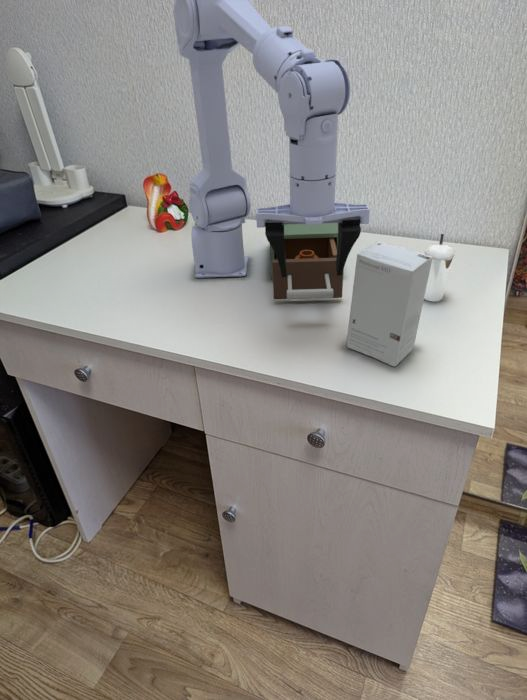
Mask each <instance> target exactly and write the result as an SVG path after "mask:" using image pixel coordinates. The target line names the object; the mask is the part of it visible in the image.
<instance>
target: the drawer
mask: <svg viewBox="0 0 527 700" xmlns="http://www.w3.org/2000/svg"><path fill="white" fill-rule="evenodd" d="M284 246H285V256H286V270H287V277H282V275H281V270H280V266H279V262H278V260H272V268H273V280H272V288H273V289H272V291H273V292H272V293H273V300H274V301H276V300H310V299H312V300H313V299H342V298H343V285H344V284H343V283H344V273H343V274H342V275H341V276H337V272H336V258H337V249H336V245H335V240H334V237H329V238H300V239H284ZM302 250H312V251H314V254H315V255H317V256H318V257H319V258H310V259H295V257H296V256H297V255H300V252H301V251H302ZM343 271H344V269H343Z"/></svg>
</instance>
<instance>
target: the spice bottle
mask: <svg viewBox="0 0 527 700" xmlns="http://www.w3.org/2000/svg"><path fill="white" fill-rule="evenodd" d="M310 258H319V257H318V256H317V255H315V254H314V251H312V250H302V251H301V252H300V255H297V256H296V257H295V259H310Z"/></svg>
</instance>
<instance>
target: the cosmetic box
mask: <svg viewBox="0 0 527 700" xmlns="http://www.w3.org/2000/svg"><path fill="white" fill-rule="evenodd" d="M431 263H432V257H431V256H428V255H425V253H421V252H417V251H415V250H411V249H409V248H406V247H404V246H399V245H398V246H397V245H393V244H389V243H386V242H382V241H378V240H377V241H376V242H374V243H372V244H371V245H369V246H367V247H366V248H364V249H363V250H360V251H359V252H357V254H356V262H355V268H354V269H355V271H354V277H353V286H352V295H351V302H350V310H349V320H348V329H347V336H346V347H347V348H348V349H350V350H353V351H356V352H358V353H361V354H363V355H366V356H368V357H371V358H374V359H376V360H378V361H380V362H382V363H385V364H387V365H389V366H391V367H397V365H398V364H400V363H401V362H402V361H403V360H404V359H405V358H406V357H407V356H408V355H409V354H410V353H411V352H412V351H414V348H415V342H416V337H417V333H418V329H419V323H420V319H421V314H422V310H423V306H424V300H425V299H424V296H425V291H426V287H427V282H428V277H429V273H430V268H431Z"/></svg>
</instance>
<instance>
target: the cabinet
mask: <svg viewBox="0 0 527 700" xmlns="http://www.w3.org/2000/svg"><path fill="white" fill-rule="evenodd" d="M329 237H334V240H335V245H336V249H338V223H322V224H321V225H306V224H293V225H284V239H300V238H329ZM269 259H270V260H269V262H270V263H269V265H270V280H272V281H273V268H272V260H277V257H276V255H275V252H274V250H273V248H272V247H271V245H270V244H269Z"/></svg>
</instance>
